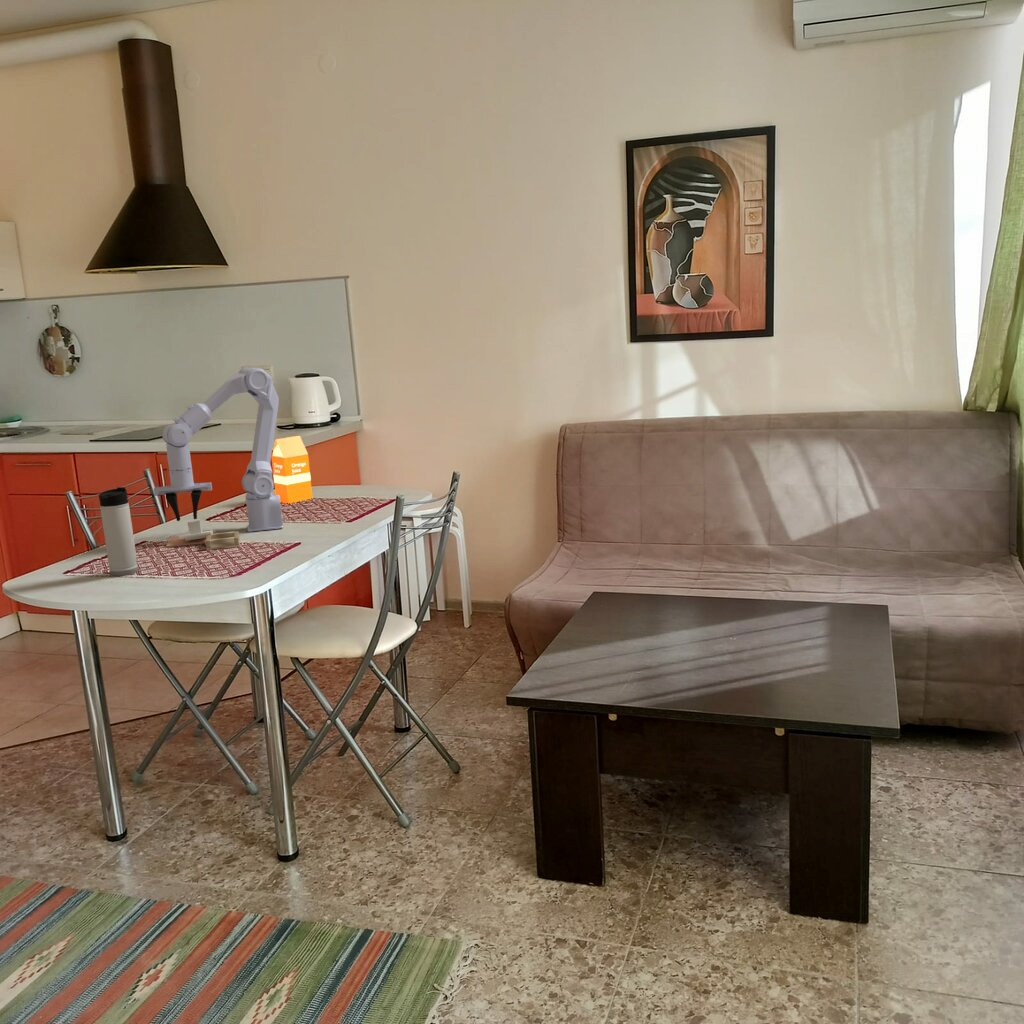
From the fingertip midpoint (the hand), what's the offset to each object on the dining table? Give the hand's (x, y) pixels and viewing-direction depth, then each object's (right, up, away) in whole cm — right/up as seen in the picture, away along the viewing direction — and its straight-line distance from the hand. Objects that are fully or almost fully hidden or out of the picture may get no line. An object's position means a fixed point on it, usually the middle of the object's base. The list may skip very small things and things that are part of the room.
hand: (187, 519), depth 260 cm
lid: (+3, -4, -1) cm, 5 cm away
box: (+12, -7, -6) cm, 15 cm away
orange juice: (+18, +6, +50) cm, 53 cm away
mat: (0, -6, +1) cm, 6 cm away
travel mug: (-5, -13, -28) cm, 31 cm away
